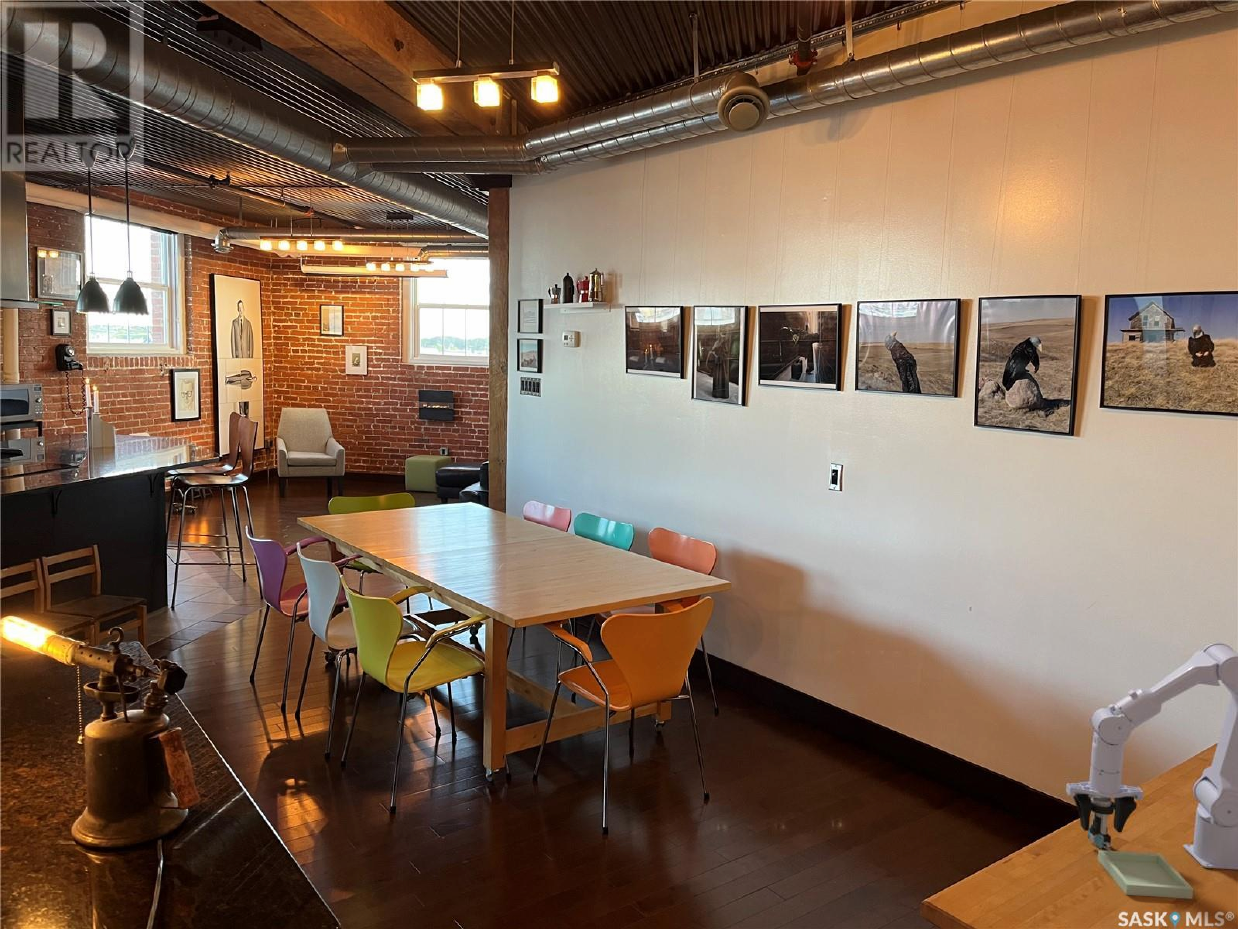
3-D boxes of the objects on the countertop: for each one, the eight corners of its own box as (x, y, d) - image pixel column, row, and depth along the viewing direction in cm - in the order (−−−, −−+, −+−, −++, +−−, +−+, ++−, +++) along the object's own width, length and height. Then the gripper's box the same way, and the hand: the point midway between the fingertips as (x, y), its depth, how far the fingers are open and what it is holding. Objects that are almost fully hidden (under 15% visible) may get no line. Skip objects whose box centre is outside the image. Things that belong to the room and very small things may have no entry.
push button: (1121, 853, 183) (1125, 807, 182) (1097, 853, 183) (1100, 807, 181) (1102, 836, 189) (1106, 791, 188) (1078, 836, 189) (1081, 792, 188)
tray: (1159, 863, 179) (1160, 854, 179) (1192, 899, 167) (1193, 889, 167) (1097, 859, 180) (1098, 850, 180) (1125, 894, 168) (1126, 884, 168)
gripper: (1133, 760, 187) (1128, 821, 189) (1062, 757, 189) (1057, 817, 190) (1150, 776, 180) (1144, 839, 182) (1076, 772, 182) (1071, 834, 183)
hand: (1101, 829), depth 186 cm, fingers open, 6 cm apart
